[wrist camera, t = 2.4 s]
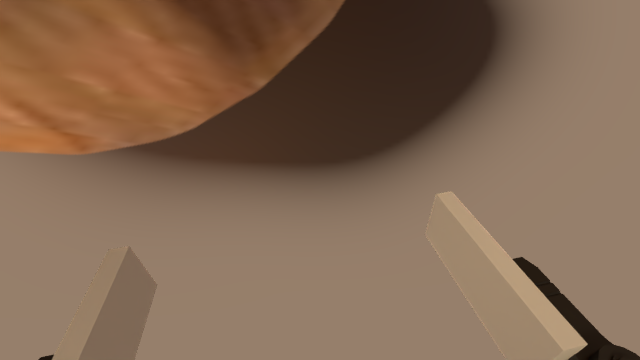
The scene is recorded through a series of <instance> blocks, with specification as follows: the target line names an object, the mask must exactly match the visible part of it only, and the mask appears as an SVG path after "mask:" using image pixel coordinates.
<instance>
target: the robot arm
mask: <svg viewBox="0 0 640 360" xmlns="http://www.w3.org/2000/svg"><path fill="white" fill-rule="evenodd" d="M425 235H426V237H427V238H428V240H429V242H430V243H431V245H432V246H433V248H434V249H435V251H436V252H437V254H438V256H439V257H440V259H441V260H442V262H443V263H444V265H445V266H446V268H447V270H448V271H449V273H450V274H451V276H452V277H453V279H454V280H455V282H456V283H457V285H458V287H459V288H460V290H461V291H462V293H463V294H464V296H465V297H466V299H467V300H468V302H469V304H470V305H471V307H472V308H473V310H474V311H475V313H476V314H477V316H478V317H479V319H480V321H481V322H482V324H483V325H484V327H485V328H486V330H487V331H488V333H489V334H490V336H491V338H492V339H493V341H494V342H495V344H496V345H497V347H498V348H499V350H500V352H501V353H502V355H503V356H504V358H505V359H506V360H640V357H639V356H638V355H637V354H635V353H633V352H631V351H629V350H627V349H625V348H623V347H620V346H616V345H614V344H612V343H611V342H609V341H608V340H607V339H606V338H604V336H602V335H601V334H600V333H599V332H598V330H597V329H596V328H595V327H594V326H593V325H592V324H591V323H590V322H589V321H588V320H587V319H586V318H585V317H584V316H583V315H582V314H581V313H580V312H579V310H578V309H577V308H575V306H574V305H573V304H572V303H571V302H570V301H569V300H568V299H567V298H566V297H565V296H564V295H563V294H561V293H560V291H559V289H558V288H557V287H556V286H555V285H554V284H553V283H550V280H549V279H548V278H547V277H546V276H545V275H544V274H543V273H542V272H541V271H540V270H539V269H538V267H536V266H534V265H533V264H532V263H530V262H529V261H527V260H525V259H524V258H523V257H520V258H515V259H511V257H510V256H509V255H508V254H507V253H506V252H505V251H504V250H503V248H502V247H501V246H500V245H499V244H498V243H497V242H496V241H495V240H494V238H493V237H492V236H491V235H490V234H489V233H488V232H487V231H486V229H485V228H484V227H483V226H482V225H481V224H480V223H479V222H478V221H477V219H475V217H474V216H473V215H472V214H471V213H470V212H469V210H468V209H467V208H466V207H465V206H464V205H463V204H462V202H461V201H460V200H459V199H458V198H457V197H456V196H455V195H454V193H453V192H445V193H439V194H436V196H435V200H434V204H433V207H432V211H431V214H430V218H429V222H428V225H427V229H426V233H425ZM156 287H157V284H156V282H155V281H154V280H153V278H152V277H151V275H150V274H149V273H148V271H147V270H146V269H145V267H144V266H143V264H142V263H141V262H140V260H139V259H138V258H137V256H136V255H135V253H134V252H133V251H132V249H131V248H130V247H129V246H126V247H120V248H114V249H109V250H108V252H107V254H106V256H105V258H104V259H103V261H102V263H101V265H100V267H99V269H98V271H97V273H96V275H95V277H94V279H93V281H92V283H91V285H90V286H89V288H88V290H87V293H86V294H85V296H84V298H83V300H82V302H81V304H80V306H79V308H78V310H77V312H76V314H75V316H74V318H73V320H72V321H71V323H70V325H69V327H68V329H67V331H66V333H65V335H64V337H63V339H62V341H61V343H60V345H59V347H58V349H57V351H56V352H55V354H54V355H50V356H45V357H41V358H40V359H39V360H134V359H135V356H136V353H137V350H138V346H139V343H140V340H141V337H142V333H143V330H144V327H145V323H146V320H147V317H148V313H149V310H150V307H151V304H152V300H153V297H154V294H155V290H156Z"/></svg>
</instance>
